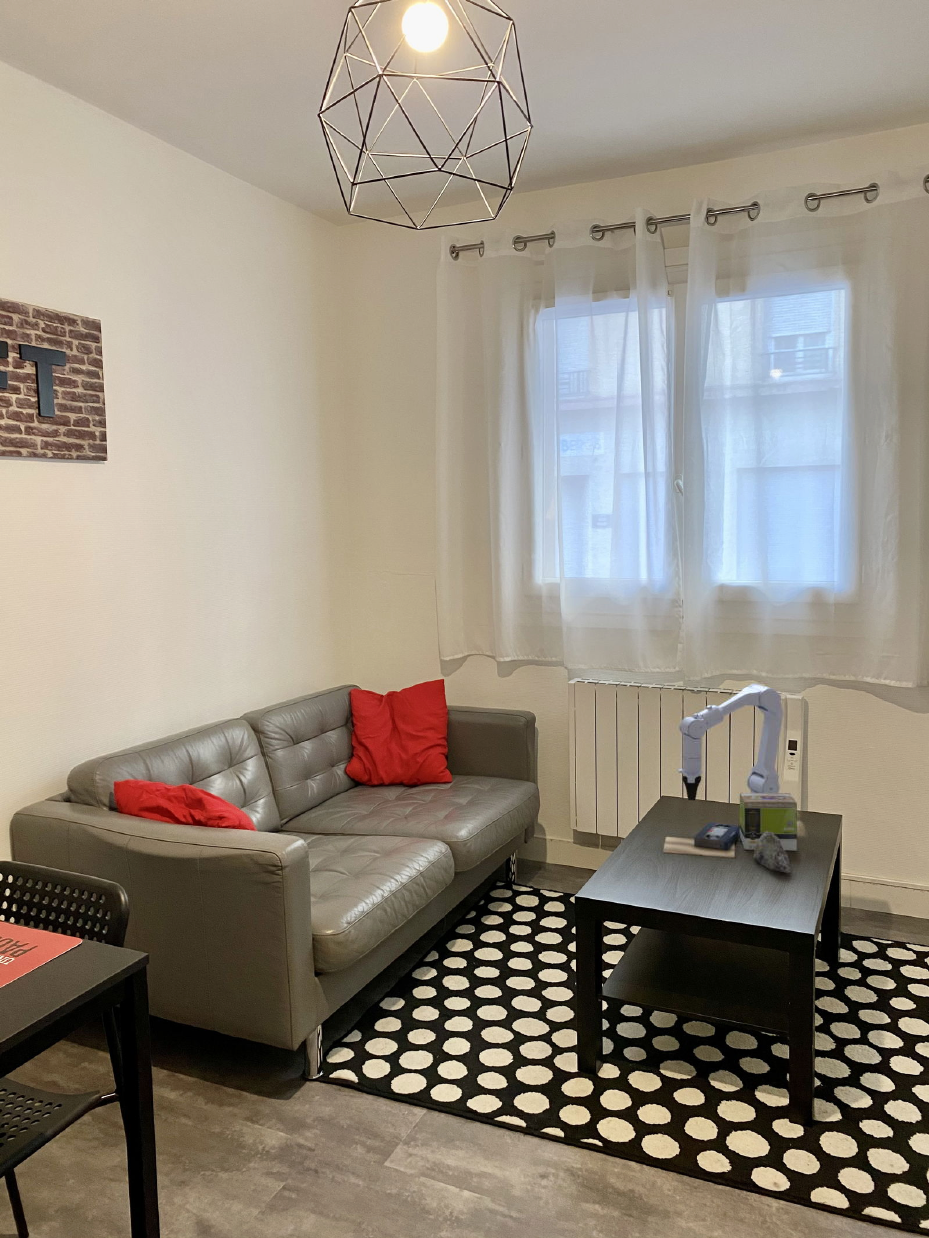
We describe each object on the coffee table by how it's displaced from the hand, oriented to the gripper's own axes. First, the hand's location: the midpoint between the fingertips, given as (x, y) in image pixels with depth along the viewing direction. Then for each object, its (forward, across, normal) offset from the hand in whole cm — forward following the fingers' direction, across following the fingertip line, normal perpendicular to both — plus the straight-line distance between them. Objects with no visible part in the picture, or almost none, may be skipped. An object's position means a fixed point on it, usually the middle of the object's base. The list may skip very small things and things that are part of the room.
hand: (691, 799), depth 301 cm
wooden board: (+10, +15, +3) cm, 18 cm away
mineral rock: (+10, +28, +23) cm, 37 cm away
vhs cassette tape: (+8, +6, +3) cm, 11 cm away
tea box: (+10, +8, +22) cm, 26 cm away
